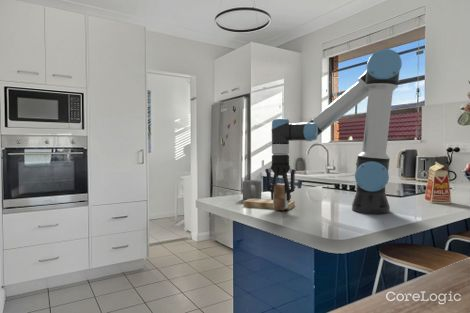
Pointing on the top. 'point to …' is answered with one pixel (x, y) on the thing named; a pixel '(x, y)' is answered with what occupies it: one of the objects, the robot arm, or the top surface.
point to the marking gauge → (279, 196)
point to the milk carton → (438, 185)
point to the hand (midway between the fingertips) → (280, 207)
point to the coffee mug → (251, 189)
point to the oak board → (264, 203)
